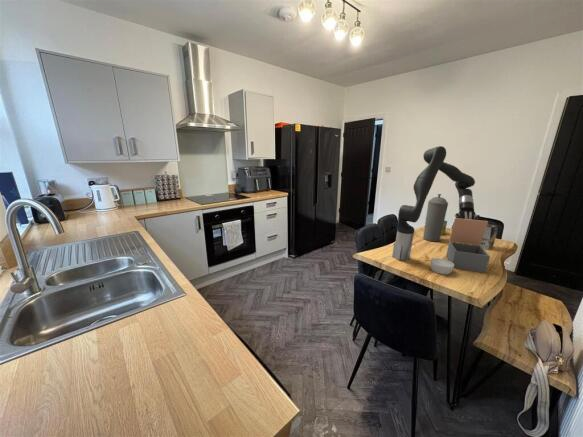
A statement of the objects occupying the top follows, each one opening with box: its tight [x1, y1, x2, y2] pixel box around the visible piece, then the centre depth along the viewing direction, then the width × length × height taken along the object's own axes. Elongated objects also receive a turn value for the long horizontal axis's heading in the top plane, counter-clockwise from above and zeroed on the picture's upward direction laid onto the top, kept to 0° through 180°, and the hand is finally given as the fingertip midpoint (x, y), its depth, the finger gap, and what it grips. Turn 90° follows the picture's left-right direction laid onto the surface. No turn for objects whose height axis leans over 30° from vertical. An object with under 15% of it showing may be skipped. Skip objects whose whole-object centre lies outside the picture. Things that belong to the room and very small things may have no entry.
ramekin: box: [429, 257, 454, 275], centre depth 132 cm, size 11×11×5 cm
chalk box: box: [441, 219, 448, 236], centre depth 192 cm, size 9×9×15 cm
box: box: [445, 242, 491, 274], centre depth 139 cm, size 16×16×10 cm
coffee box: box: [477, 223, 499, 251], centre depth 164 cm, size 9×6×16 cm
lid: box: [448, 217, 489, 246], centre depth 142 cm, size 16×16×1 cm
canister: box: [422, 193, 449, 242], centre depth 175 cm, size 13×13×35 cm
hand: (467, 228), depth 142 cm, fingers closed
